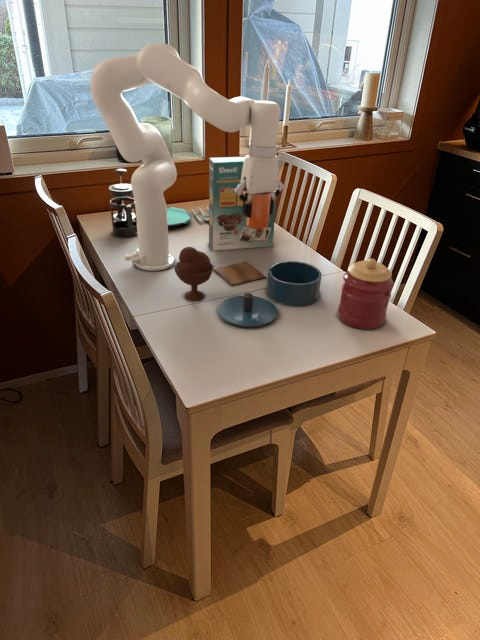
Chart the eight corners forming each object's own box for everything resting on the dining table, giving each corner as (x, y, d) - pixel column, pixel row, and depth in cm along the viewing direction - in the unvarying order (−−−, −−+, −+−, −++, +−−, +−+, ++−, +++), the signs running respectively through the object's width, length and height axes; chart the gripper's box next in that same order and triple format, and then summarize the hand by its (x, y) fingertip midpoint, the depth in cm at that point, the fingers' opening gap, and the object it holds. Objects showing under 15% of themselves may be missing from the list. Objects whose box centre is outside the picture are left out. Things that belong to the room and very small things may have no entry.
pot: (286, 311, 141) (288, 289, 137) (256, 287, 152) (258, 266, 149) (329, 299, 148) (332, 278, 144) (298, 277, 159) (300, 257, 155)
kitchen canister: (393, 318, 139) (407, 260, 130) (368, 335, 131) (380, 275, 122) (354, 301, 147) (364, 245, 138) (327, 316, 139) (336, 257, 130)
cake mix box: (267, 239, 185) (273, 155, 169) (272, 246, 180) (279, 160, 164) (208, 243, 179) (209, 157, 163) (212, 250, 174) (213, 162, 158)
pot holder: (231, 285, 152) (232, 284, 152) (213, 270, 161) (213, 268, 161) (265, 278, 158) (265, 276, 157) (246, 263, 166) (246, 261, 166)
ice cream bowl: (184, 308, 140) (183, 259, 132) (170, 291, 148) (168, 243, 140) (219, 301, 144) (220, 253, 136) (203, 284, 152) (203, 238, 144)
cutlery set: (135, 214, 202) (135, 208, 200) (207, 208, 211) (207, 203, 210) (145, 232, 186) (144, 226, 185) (222, 225, 195) (222, 219, 194)
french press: (108, 229, 187) (101, 167, 175) (132, 225, 191) (127, 164, 179) (118, 241, 178) (112, 176, 166) (144, 236, 182) (139, 172, 170)
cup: (252, 230, 143) (255, 195, 138) (241, 222, 148) (243, 188, 143) (272, 227, 146) (275, 193, 141) (260, 219, 151) (263, 186, 146)
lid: (236, 334, 129) (236, 316, 126) (207, 306, 141) (207, 288, 138) (288, 320, 137) (290, 302, 134) (257, 294, 149) (258, 277, 146)
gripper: (281, 145, 143) (275, 206, 152) (227, 150, 135) (225, 213, 145) (296, 152, 137) (289, 215, 147) (241, 156, 130) (237, 222, 139)
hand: (257, 214), depth 146 cm, fingers closed on cup, 6 cm apart
